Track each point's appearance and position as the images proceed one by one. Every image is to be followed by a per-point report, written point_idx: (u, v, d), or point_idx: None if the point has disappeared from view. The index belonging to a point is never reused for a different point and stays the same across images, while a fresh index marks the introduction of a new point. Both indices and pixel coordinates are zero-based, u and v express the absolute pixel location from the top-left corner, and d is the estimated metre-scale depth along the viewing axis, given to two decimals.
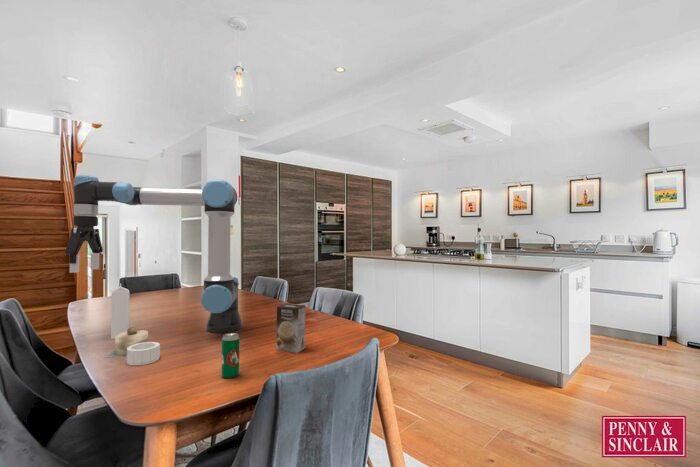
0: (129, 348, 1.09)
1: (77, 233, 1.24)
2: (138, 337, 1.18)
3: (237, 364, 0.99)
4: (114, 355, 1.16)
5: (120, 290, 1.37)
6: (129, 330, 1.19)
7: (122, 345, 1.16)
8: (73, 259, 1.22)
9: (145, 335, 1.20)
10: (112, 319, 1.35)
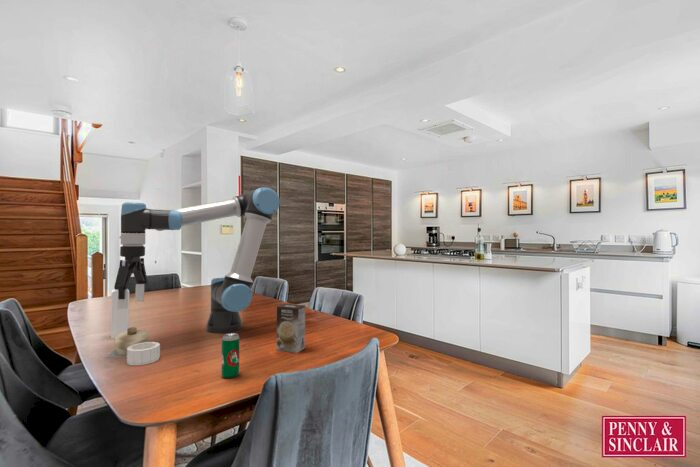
0: (129, 348, 1.09)
1: (126, 266, 1.14)
2: (138, 337, 1.18)
3: (237, 364, 0.99)
4: (114, 355, 1.16)
5: None
6: (129, 330, 1.19)
7: (122, 345, 1.16)
8: (122, 294, 1.13)
9: (145, 335, 1.20)
10: (112, 319, 1.35)
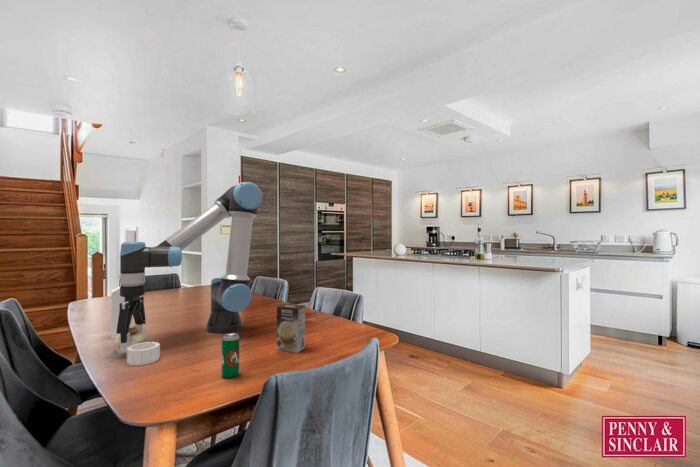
0: (129, 348, 1.09)
1: (126, 309, 1.14)
2: (138, 337, 1.18)
3: (237, 364, 0.99)
4: (114, 355, 1.16)
5: None
6: (129, 330, 1.19)
7: None
8: (124, 338, 1.14)
9: (145, 335, 1.20)
10: (112, 319, 1.35)
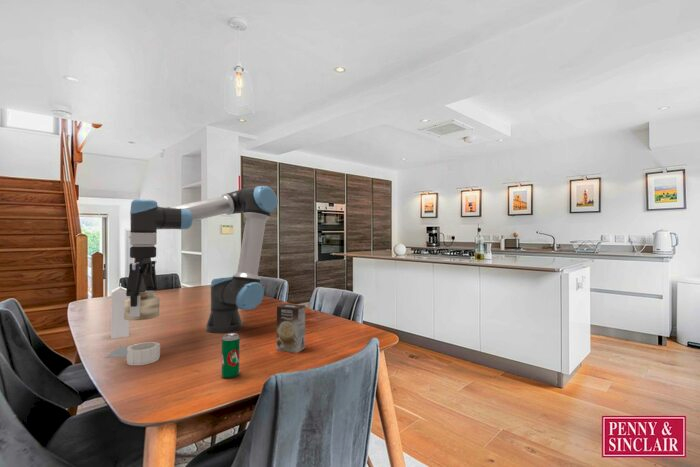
0: (129, 348, 1.09)
1: (136, 270, 1.06)
2: (149, 301, 1.09)
3: (237, 364, 0.99)
4: (114, 355, 1.16)
5: (120, 290, 1.37)
6: (139, 294, 1.11)
7: None
8: (134, 301, 1.05)
9: (156, 300, 1.12)
10: (112, 319, 1.35)
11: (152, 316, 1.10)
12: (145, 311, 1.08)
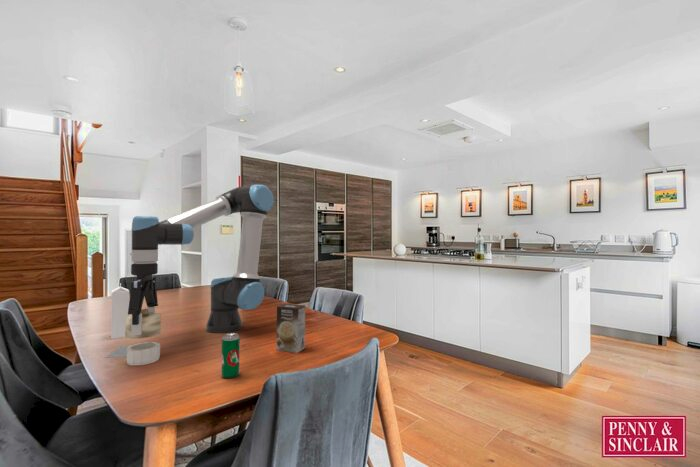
0: (129, 348, 1.09)
1: (138, 288, 1.05)
2: (150, 319, 1.08)
3: (237, 364, 0.99)
4: (114, 355, 1.16)
5: (120, 290, 1.37)
6: (141, 312, 1.10)
7: None
8: (136, 320, 1.05)
9: (158, 317, 1.11)
10: (112, 319, 1.35)
11: (154, 334, 1.09)
12: (146, 329, 1.07)
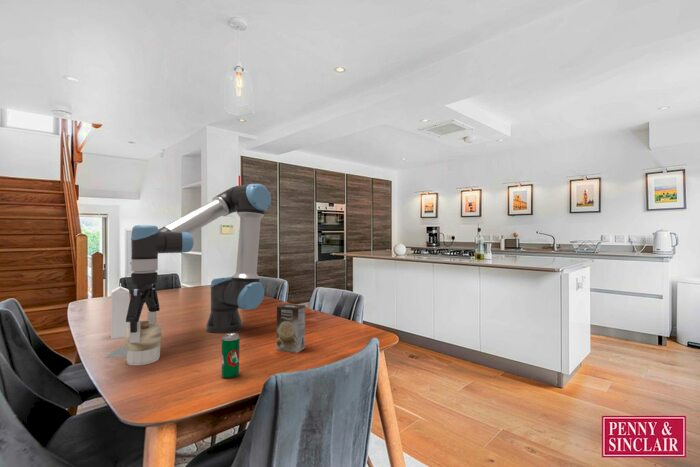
0: None
1: (138, 296, 1.05)
2: (151, 331, 1.09)
3: (237, 364, 0.99)
4: (114, 355, 1.16)
5: (120, 290, 1.37)
6: (141, 324, 1.10)
7: None
8: (134, 327, 1.03)
9: (158, 329, 1.11)
10: (112, 319, 1.35)
11: (154, 346, 1.09)
12: (147, 341, 1.08)
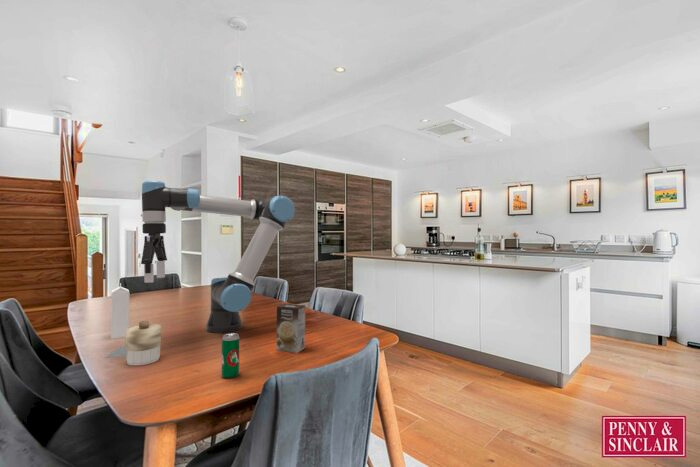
0: None
1: (151, 241, 1.19)
2: (151, 331, 1.09)
3: (237, 364, 0.99)
4: (114, 355, 1.16)
5: (120, 290, 1.37)
6: (141, 324, 1.10)
7: (133, 340, 1.06)
8: (148, 269, 1.17)
9: (158, 329, 1.11)
10: (112, 319, 1.35)
11: (154, 346, 1.09)
12: (147, 341, 1.08)
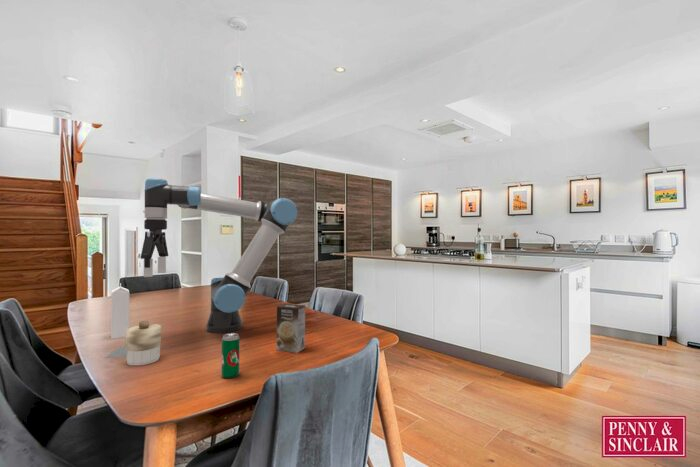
0: None
1: (151, 237, 1.22)
2: (151, 331, 1.09)
3: (237, 364, 0.99)
4: (114, 355, 1.16)
5: (120, 290, 1.37)
6: (141, 324, 1.10)
7: (133, 340, 1.06)
8: (148, 263, 1.21)
9: (158, 329, 1.11)
10: (112, 319, 1.35)
11: (154, 346, 1.09)
12: (147, 341, 1.08)
